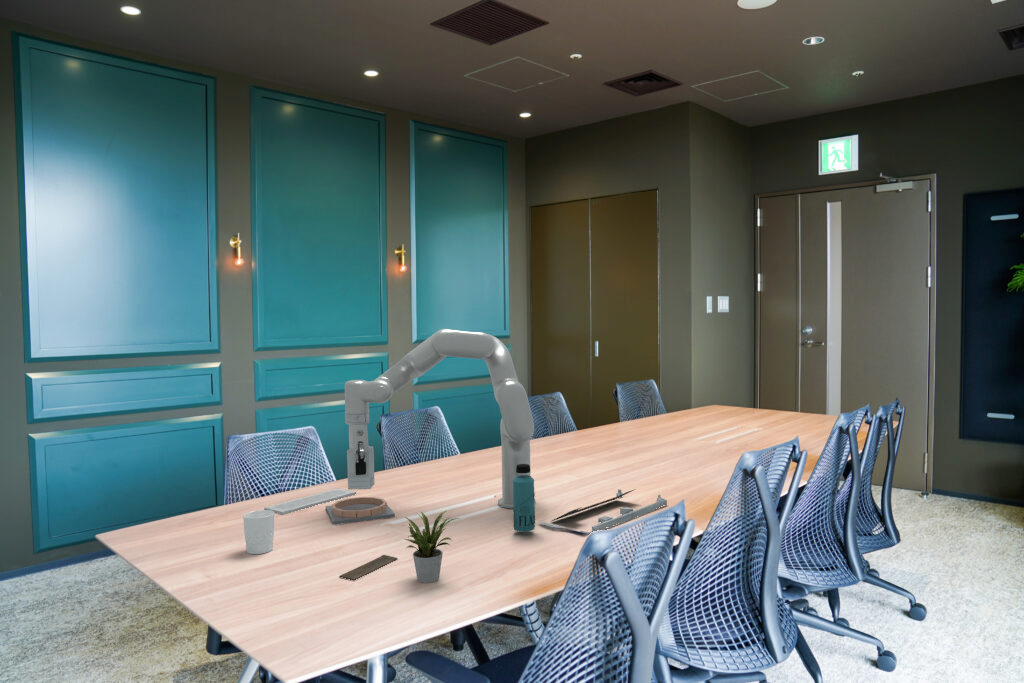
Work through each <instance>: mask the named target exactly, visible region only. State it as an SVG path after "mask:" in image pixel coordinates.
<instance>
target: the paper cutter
mask: <svg viewBox="0 0 1024 683" xmlns="http://www.w3.org/2000/svg"><path fill="white" fill-rule="evenodd" d="M635 490H637V489H636V488H635V489H632V490H629V491H626V492H624V493H623V492H622V489H617V493H615V494H616V496H615V497H612V498H609V499H606V500H603V501H600V502H598V503H595V504H592V505H588V506H585V507H579V508H576V509H573V510H570V511H567V512H566V513H564V514H562V515H560V516H558V517H557V518H556V517H555V519H552V520H550V522H553V521H556V520H559V519H563V518H565V517H568V516H571V515H574V514H577V513H580V512H582V511H583V512H584V511H585V510H589V509H591V508H594V507H597V506H601V505H603V504H606V503H609V502H612V501H614V500H617V499H620V498H619V497H622V496H623V497H624V496H625V495H628V494H629V493H632V492H633V491H635ZM657 496H658V497H657V499H656V502H654V503H651V504H648V505H646V506H644V507H640V508H638V509H634V508H632V507H627V506H623V507H620V508H619V514H622V515H619V516H616V517H612V516H607V515H604V516H601V517H599V518H598V519H597V523H598V522H601V523H598V524H595V525H593V526H591V531H584V530H580V531H578V530H577V532H578V533H582V534H588V535H591V534H592V533H591V532H593V531H597V530H603V531H605V530H608V529H610V528H612V527H611V526H613V525H616V524H618V523H621V524H623V523H626V522H628V520H629V519H631V520H634V519H635V517H636V518H638V517H637V516H639V517H641V516H644V515H646V514H649V513H650V512H651V511H652V512H654V511H656V510H655V509H656V508H657V510H659V509H661V506H663V505H667V506H668V500H667V499H666V498H662V496H661V494H657ZM623 497H622V498H623ZM659 507H660V508H659ZM664 507H665V506H663V507H662V508H664ZM658 508H659V509H658ZM653 510H654V511H653ZM648 512H649V513H648ZM645 513H646V514H645ZM633 518H634V519H633ZM625 521H626V522H625ZM629 521H630V520H629ZM622 522H623V523H622ZM539 523H540V524H542V525H544V526H547V527H550V528H555V529H566V530H568V529H567V527H564V526H560V525H556V524H552V523H547V522H543V521H539ZM618 525H619V524H618ZM616 526H617V525H616ZM606 527H609V528H606ZM613 527H614V526H613ZM604 529H605V530H604ZM569 530H570V531H572V529H570V528H569ZM573 531H575V532H576V529H575V530H574V529H573ZM590 533H591V534H590Z"/></svg>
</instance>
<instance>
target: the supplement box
mask: <svg viewBox="0 0 1024 683" xmlns="http://www.w3.org/2000/svg"><path fill="white" fill-rule="evenodd" d="M374 449H375V448H374V446H373V445H372V446H370V445H369V452H368V454H367V453H365V459H366V474H365V475H356V467H355V462H356V455H354V454H353V451H352V450H351V449H350V448H348V449H347V450H346V463H347V469H346V471H347V490H349V491H352V490H371V489H372V488H373V487H374V485H375V483H376V482H375V455H374V454H375V452H374V451H375V450H374ZM364 452H365V451H364ZM357 453H360V451H357Z"/></svg>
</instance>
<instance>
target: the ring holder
mask: <svg viewBox="0 0 1024 683" xmlns="http://www.w3.org/2000/svg"><path fill="white" fill-rule="evenodd" d="M325 510H327V511H326V513H327V512H328V513H327V514H329V515H328V517H329V516H330V517H329V519H330V518H331V519H330V521H331V520H332V521H331V523H332V525H333V524H335V525H342V524H341V523H343V524H348V523H347V522H351V523H357V522H356V521H359V522H365V521H364V520H367V521H374V520H373V519H375V520H382V519H381V518H383V519H390V517H391V518H396V513H395V512H394V511H393V509H391V507H390V506H389V505H388V502H387V501H386V500H385V499H384V498H380V497H376V496H355V497H348V498H343V499H339V500H336V501H335V502H334V503H332V504H331V505H326V506H325Z"/></svg>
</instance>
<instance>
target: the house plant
mask: <svg viewBox="0 0 1024 683" xmlns="http://www.w3.org/2000/svg"><path fill="white" fill-rule="evenodd" d="M447 511H448V510H444V511H441V512H440V513H439V514H438V516H437V517H436V519H435V520H434V522H433V525H432V528H431V529H432V530H431V529H430V522H429V519H428V516H426V514H425V513H424V512H423V511H419V512H420V514H419V513H417V512H416V511H415V513H416V514H417V515H418V516H419V517H420V519H421V520H422V522H423V524H424V528H423V529H422V532H421V531H420V529H419V526H418V525H417V524H416V523H415V522H414V521H413V520H412V519H411V518H408V517H406V516H404V519H407V521H408V522H409V523H408V529H409V532H410V534H411V535H408V536H407V538H404V540H406V541H408V542H409V543H410V542H411V543H412V544H415V545H416V546H417V547H418V548H417V547H415V546H414V545H412V544H411V545H408V546H406V548H405V549H407V548H412V549H413V548H414V549H416V550H415V551H414V552H413V553H412V557H413V564H414V568H415V574H416V579H417V581H418V582H419V583H423V584H430V583H435V582H437V581H439V579H440V576H441V570H442V569H441V567H442V561H443V550H441V549H440V548H438V547H439V546H445V545H448V546H451V545H450V543H449V542H443V541H447V540H448V541H451V542H453V539H452V538H450V537H449V536H448V537H444V538H442V539H441V540H439V538H440V536H441V535H442V533H443V532H444V531H445V530H446V529H447V528H446V527H445V526H446V525H448V524H449V523H450V522H452V521H454V520H461V517H457V518H450V517H448V518H447V517H446V518H445V519H444V520H443V521H442V522H441V523H440V520H441V519H443V518H442V517H443V515H444V514H445V513H447ZM449 519H450V520H449ZM439 523H440V524H439ZM438 524H439V526H438ZM401 526H404V527H405V525H401ZM437 526H438V527H437ZM444 527H445V528H444ZM410 537H411V538H413V539H411V538H410Z"/></svg>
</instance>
